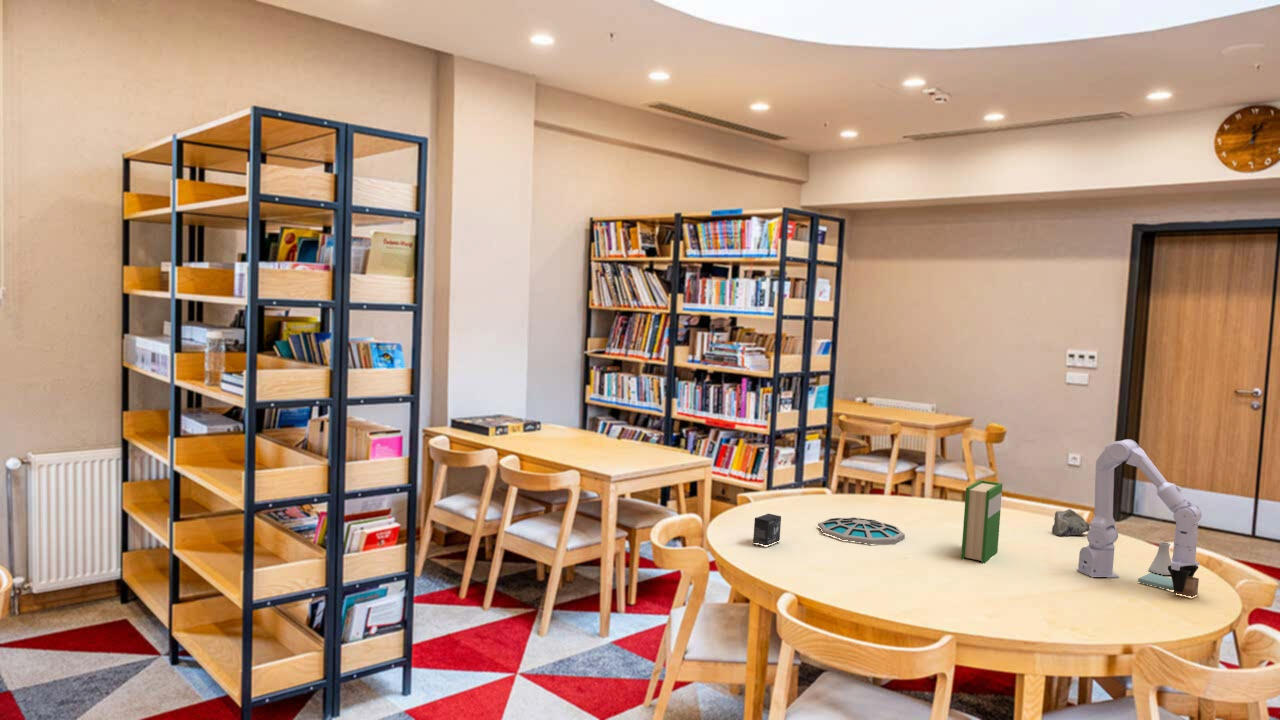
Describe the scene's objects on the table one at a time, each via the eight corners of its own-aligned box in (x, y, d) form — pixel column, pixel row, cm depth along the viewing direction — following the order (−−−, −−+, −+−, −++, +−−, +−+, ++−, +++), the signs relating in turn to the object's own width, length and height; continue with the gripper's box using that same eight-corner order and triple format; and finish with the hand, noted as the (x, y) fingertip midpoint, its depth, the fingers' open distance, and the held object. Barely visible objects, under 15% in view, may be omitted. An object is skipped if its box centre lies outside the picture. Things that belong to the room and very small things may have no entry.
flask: (1162, 577, 273) (1164, 546, 272) (1143, 570, 280) (1146, 540, 279) (1180, 576, 275) (1182, 545, 274) (1161, 569, 282) (1163, 539, 281)
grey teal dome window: (913, 548, 295) (914, 534, 294) (828, 544, 295) (829, 530, 295) (889, 525, 325) (890, 512, 325) (812, 521, 326) (813, 509, 326)
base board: (1173, 592, 258) (1174, 587, 258) (1137, 583, 265) (1138, 578, 265) (1185, 586, 264) (1185, 581, 264) (1149, 577, 272) (1150, 572, 272)
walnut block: (1191, 599, 252) (1193, 581, 252) (1174, 594, 256) (1176, 576, 255) (1197, 596, 255) (1198, 578, 255) (1180, 592, 258) (1181, 574, 258)
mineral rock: (1089, 535, 324) (1091, 509, 323) (1090, 541, 314) (1092, 514, 313) (1051, 529, 329) (1053, 504, 329) (1051, 536, 320) (1053, 509, 319)
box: (767, 548, 286) (768, 520, 285) (752, 545, 289) (753, 517, 288) (780, 543, 293) (781, 515, 292) (765, 539, 296) (767, 512, 296)
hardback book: (984, 563, 279) (989, 491, 278) (961, 559, 283) (966, 487, 282) (997, 552, 293) (1002, 483, 292) (975, 548, 298) (979, 480, 296)
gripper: (1192, 552, 248) (1188, 598, 249) (1208, 544, 257) (1204, 588, 258) (1165, 546, 253) (1161, 591, 254) (1181, 539, 262) (1178, 582, 263)
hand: (1181, 589), depth 256 cm, fingers closed on walnut block, 4 cm apart
